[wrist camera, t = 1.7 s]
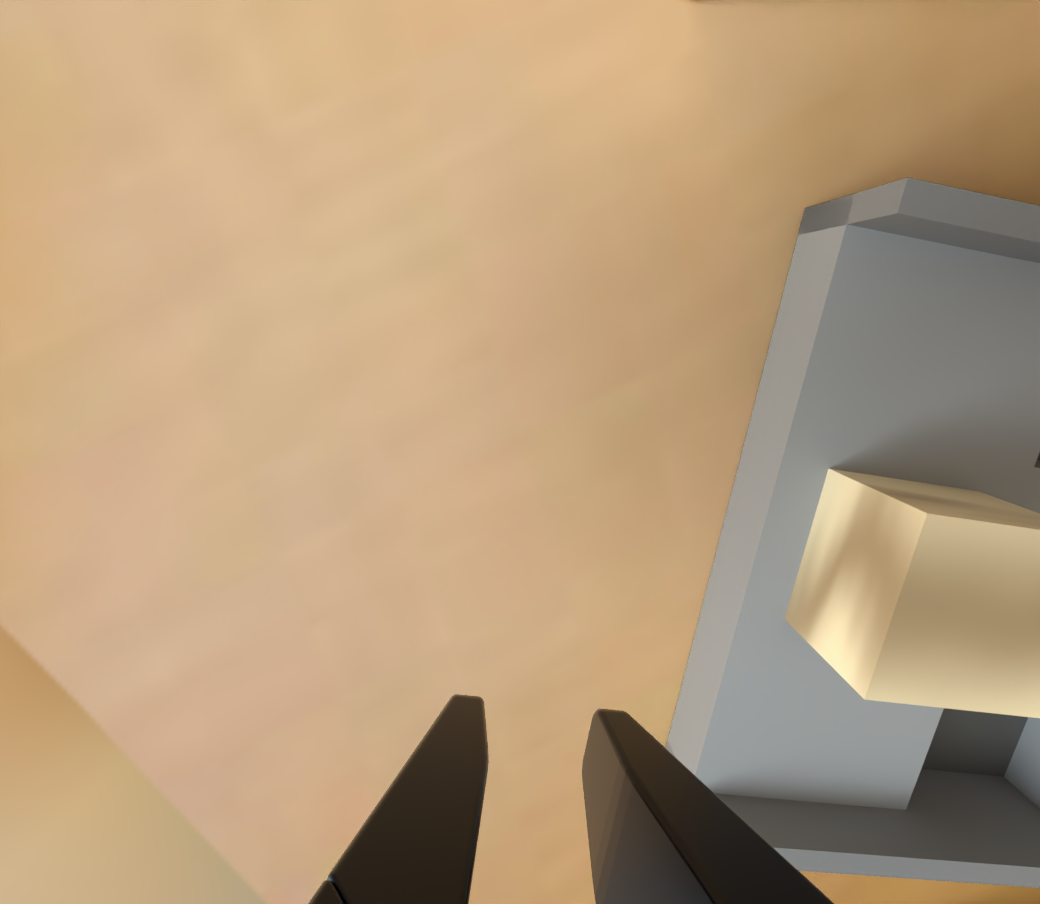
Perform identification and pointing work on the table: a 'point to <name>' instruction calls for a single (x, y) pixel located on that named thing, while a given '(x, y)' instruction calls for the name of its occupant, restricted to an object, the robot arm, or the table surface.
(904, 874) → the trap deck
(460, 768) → the robot arm
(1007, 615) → the maple block
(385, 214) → the table surface
